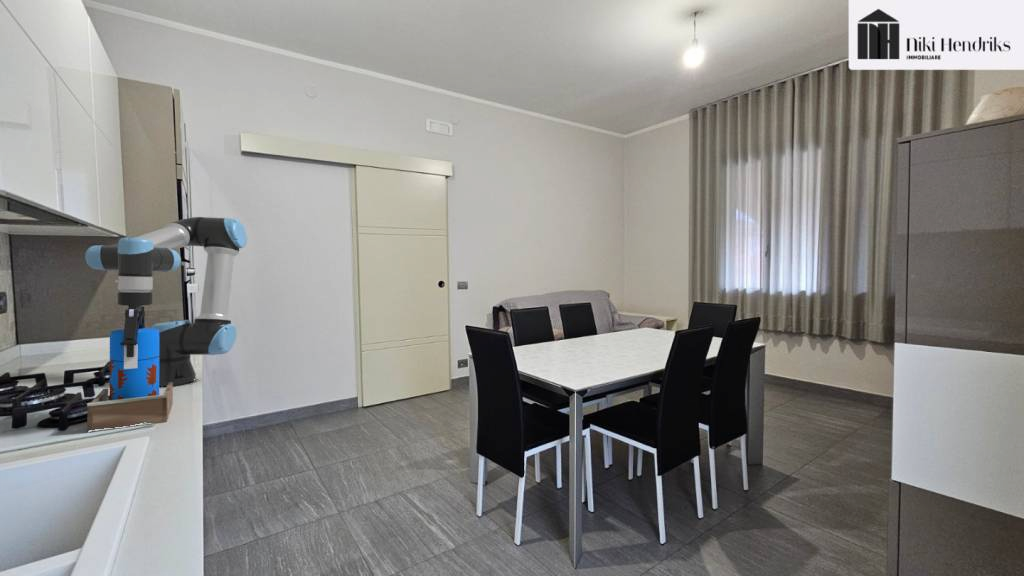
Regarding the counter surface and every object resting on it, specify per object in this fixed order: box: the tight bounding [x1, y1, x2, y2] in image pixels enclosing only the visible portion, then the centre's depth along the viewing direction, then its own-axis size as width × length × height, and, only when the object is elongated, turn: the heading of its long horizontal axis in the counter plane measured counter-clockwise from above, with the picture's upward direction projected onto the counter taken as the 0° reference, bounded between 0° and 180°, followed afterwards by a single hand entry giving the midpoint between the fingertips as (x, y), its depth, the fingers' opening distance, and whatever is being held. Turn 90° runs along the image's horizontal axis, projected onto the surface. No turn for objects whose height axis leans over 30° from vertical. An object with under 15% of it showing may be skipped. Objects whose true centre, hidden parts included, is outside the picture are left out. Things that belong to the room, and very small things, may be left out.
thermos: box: [109, 327, 160, 401], centre depth 122 cm, size 11×11×25 cm
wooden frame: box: [86, 382, 174, 432], centre depth 121 cm, size 19×16×8 cm
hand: (134, 364), depth 122 cm, fingers open, 13 cm apart
